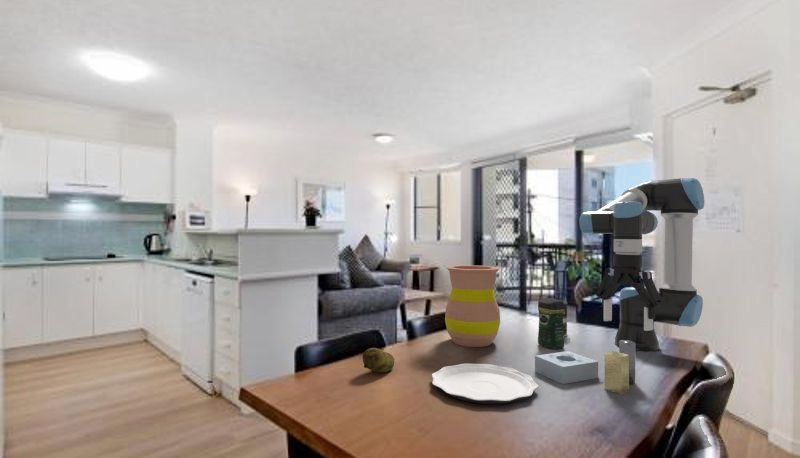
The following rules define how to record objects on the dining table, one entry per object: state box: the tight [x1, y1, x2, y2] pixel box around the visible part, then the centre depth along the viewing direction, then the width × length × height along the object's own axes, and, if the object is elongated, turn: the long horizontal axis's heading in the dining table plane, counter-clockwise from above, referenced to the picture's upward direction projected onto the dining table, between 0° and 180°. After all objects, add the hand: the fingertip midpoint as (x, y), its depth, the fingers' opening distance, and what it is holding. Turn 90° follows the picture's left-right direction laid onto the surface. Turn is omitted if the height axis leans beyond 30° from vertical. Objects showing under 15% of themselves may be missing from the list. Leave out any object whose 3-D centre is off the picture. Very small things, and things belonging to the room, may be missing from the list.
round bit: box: [618, 340, 636, 386], centre depth 124 cm, size 4×4×12 cm
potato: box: [362, 347, 395, 374], centre depth 132 cm, size 8×13×8 cm, turn 127°
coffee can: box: [561, 300, 569, 337], centre depth 183 cm, size 10×10×14 cm
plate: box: [430, 362, 539, 405], centre depth 120 cm, size 29×29×2 cm
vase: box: [444, 264, 501, 348], centre depth 169 cm, size 22×22×30 cm
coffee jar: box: [537, 297, 565, 350], centre depth 163 cm, size 10×8×19 cm
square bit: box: [604, 350, 630, 395], centre depth 119 cm, size 5×5×10 cm
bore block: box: [534, 350, 599, 385], centre depth 131 cm, size 14×12×5 cm
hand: (627, 325), depth 124 cm, fingers open, 13 cm apart
